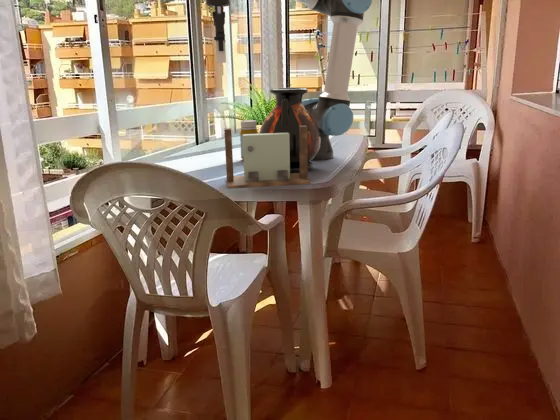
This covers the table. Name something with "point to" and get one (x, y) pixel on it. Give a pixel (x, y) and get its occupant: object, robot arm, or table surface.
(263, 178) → the beige flat panel
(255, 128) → the bottle
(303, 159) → the cabinet frame
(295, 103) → the amphora vase
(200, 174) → the table surface
